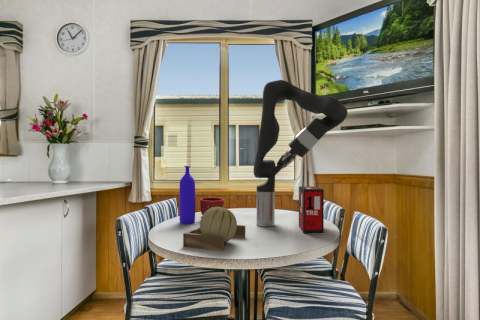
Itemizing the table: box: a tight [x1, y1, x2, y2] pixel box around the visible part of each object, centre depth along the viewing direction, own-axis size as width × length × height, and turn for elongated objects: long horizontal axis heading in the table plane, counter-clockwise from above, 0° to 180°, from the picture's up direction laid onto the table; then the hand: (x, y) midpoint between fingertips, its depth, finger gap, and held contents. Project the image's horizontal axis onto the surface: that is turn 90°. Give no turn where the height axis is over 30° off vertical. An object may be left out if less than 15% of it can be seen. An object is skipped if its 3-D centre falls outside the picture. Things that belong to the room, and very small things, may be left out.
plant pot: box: [199, 197, 225, 219], centre depth 182 cm, size 13×13×12 cm
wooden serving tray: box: [182, 224, 246, 252], centre depth 135 cm, size 23×17×5 cm
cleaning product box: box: [298, 186, 325, 235], centre depth 158 cm, size 16×9×20 cm, turn 178°
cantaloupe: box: [199, 204, 238, 244], centre depth 132 cm, size 15×15×15 cm
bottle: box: [178, 165, 196, 225], centre depth 175 cm, size 8×8×30 cm
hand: (272, 173), depth 132 cm, fingers closed
